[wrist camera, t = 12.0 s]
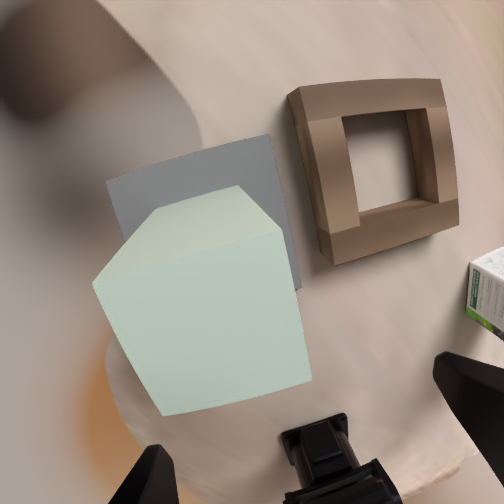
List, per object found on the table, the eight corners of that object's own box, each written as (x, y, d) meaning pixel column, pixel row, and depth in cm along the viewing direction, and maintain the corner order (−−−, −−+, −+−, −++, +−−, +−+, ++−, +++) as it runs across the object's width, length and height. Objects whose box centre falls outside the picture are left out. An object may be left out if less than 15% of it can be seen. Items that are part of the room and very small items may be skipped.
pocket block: (438, 217, 21) (459, 224, 19) (320, 252, 20) (334, 265, 18) (419, 83, 18) (440, 79, 15) (287, 94, 17) (298, 86, 15)
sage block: (257, 263, 19) (312, 380, 9) (181, 284, 19) (162, 416, 9) (237, 184, 18) (281, 229, 7) (155, 208, 18) (91, 283, 7)
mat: (300, 284, 21) (302, 287, 20) (158, 322, 20) (157, 326, 20) (267, 134, 18) (268, 133, 17) (107, 180, 17) (105, 181, 17)
